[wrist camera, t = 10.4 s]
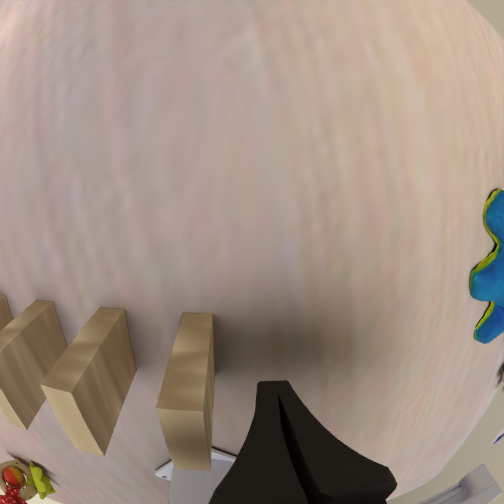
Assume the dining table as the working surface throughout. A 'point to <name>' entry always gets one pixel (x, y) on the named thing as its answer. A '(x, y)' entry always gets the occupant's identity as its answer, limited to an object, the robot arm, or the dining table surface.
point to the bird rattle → (22, 482)
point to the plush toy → (491, 273)
